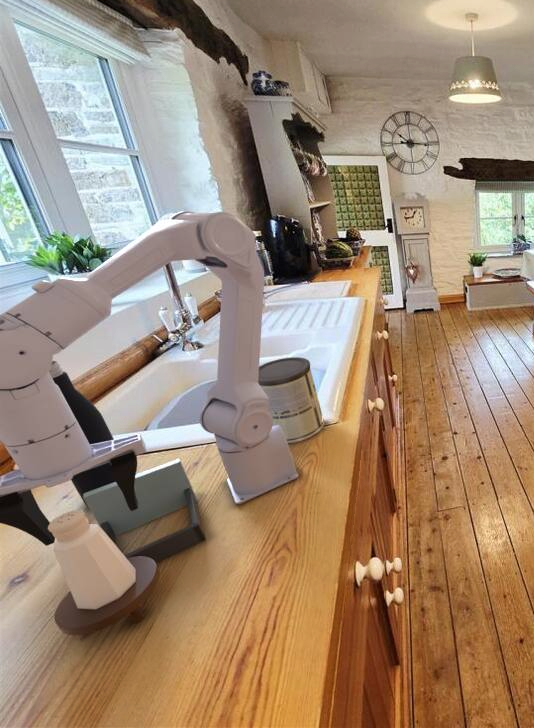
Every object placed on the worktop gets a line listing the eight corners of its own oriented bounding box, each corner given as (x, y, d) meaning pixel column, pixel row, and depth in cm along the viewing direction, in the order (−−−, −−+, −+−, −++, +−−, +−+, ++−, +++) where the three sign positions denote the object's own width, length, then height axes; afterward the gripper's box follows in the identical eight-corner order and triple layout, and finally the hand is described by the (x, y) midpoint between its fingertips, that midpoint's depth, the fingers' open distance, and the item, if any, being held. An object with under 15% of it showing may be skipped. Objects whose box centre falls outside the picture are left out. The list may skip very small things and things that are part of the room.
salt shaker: (124, 602, 46) (80, 530, 42) (65, 618, 45) (13, 545, 41) (146, 562, 51) (109, 494, 47) (93, 575, 50) (50, 506, 45)
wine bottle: (146, 482, 71) (67, 319, 59) (110, 510, 65) (14, 335, 53) (113, 480, 72) (28, 319, 60) (74, 508, 66) (-29, 335, 54)
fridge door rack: (196, 497, 67) (179, 458, 64) (207, 539, 59) (188, 496, 56) (107, 535, 61) (83, 493, 57) (106, 587, 53) (78, 542, 49)
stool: (165, 565, 55) (154, 543, 54) (171, 613, 49) (159, 590, 48) (73, 610, 50) (58, 587, 48) (67, 670, 44) (49, 647, 42)
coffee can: (261, 432, 84) (241, 370, 78) (310, 410, 91) (294, 352, 86) (283, 451, 78) (263, 385, 72) (334, 426, 85) (319, 365, 79)
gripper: (-74, 480, 38) (2, 580, 44) (126, 419, 47) (169, 508, 53) (-53, 447, 43) (13, 540, 49) (125, 397, 52) (164, 481, 57)
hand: (94, 521), depth 51 cm, fingers open, 7 cm apart
